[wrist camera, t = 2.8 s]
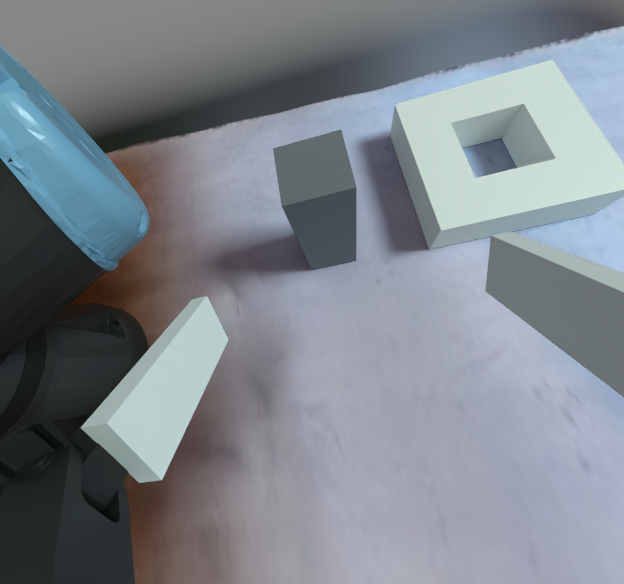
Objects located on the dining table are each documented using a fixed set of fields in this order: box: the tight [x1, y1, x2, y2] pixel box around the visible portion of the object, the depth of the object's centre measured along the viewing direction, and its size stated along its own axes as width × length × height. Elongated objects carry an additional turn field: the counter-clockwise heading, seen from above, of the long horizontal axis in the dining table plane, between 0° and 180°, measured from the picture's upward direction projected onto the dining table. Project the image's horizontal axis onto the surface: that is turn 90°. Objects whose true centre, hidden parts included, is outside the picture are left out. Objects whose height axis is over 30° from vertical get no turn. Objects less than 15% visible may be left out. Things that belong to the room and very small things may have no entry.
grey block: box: [273, 130, 356, 270], centre depth 23 cm, size 5×5×12 cm
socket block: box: [390, 60, 624, 250], centre depth 26 cm, size 16×16×4 cm
